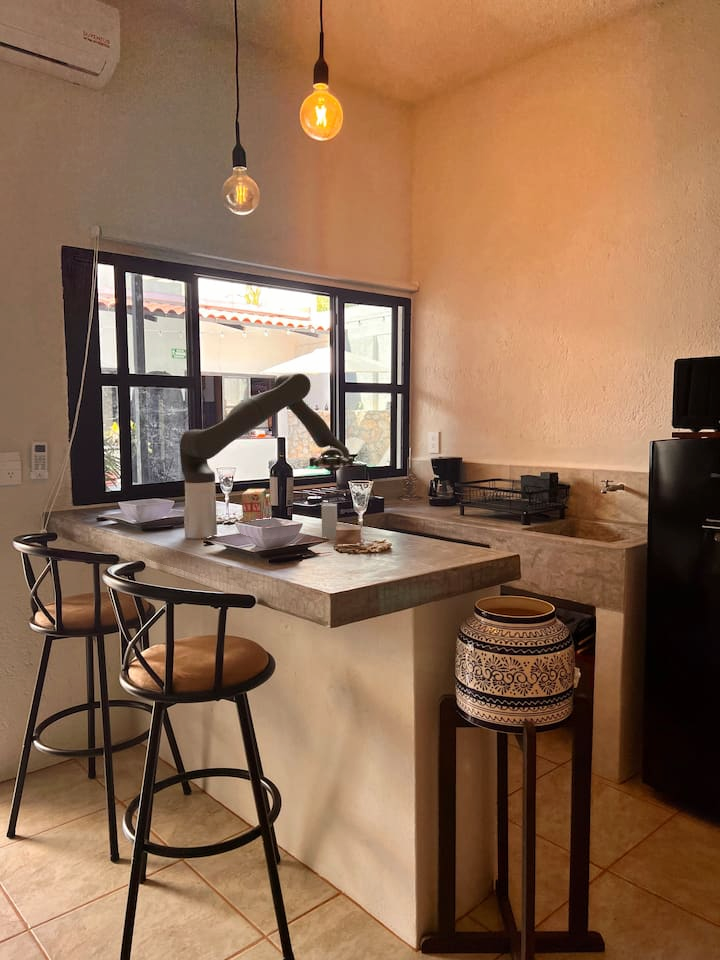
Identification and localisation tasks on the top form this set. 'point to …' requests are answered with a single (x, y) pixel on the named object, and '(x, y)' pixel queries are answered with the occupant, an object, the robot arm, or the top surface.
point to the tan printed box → (255, 504)
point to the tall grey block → (329, 520)
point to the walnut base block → (348, 534)
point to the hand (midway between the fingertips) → (330, 463)
